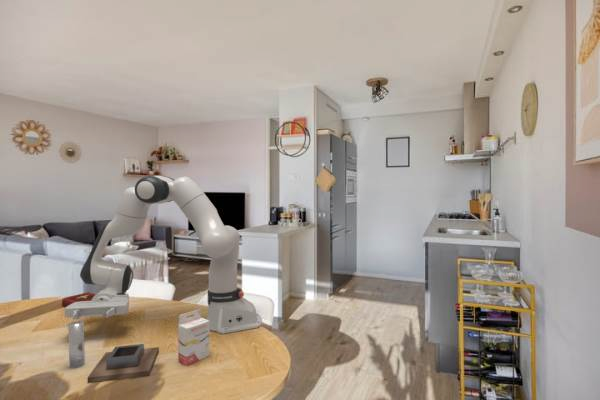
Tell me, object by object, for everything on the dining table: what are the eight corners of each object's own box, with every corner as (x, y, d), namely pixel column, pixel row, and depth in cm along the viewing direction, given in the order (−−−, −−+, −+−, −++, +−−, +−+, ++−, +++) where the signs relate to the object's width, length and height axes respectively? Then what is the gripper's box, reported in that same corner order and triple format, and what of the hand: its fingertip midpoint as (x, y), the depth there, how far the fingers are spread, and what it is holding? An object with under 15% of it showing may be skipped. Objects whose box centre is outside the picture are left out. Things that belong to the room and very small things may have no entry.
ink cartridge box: (186, 366, 103) (186, 319, 102) (177, 361, 106) (177, 315, 105) (210, 355, 109) (209, 311, 109) (201, 351, 112) (200, 307, 112)
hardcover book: (86, 315, 146) (86, 305, 146) (61, 307, 157) (61, 298, 157) (113, 307, 157) (113, 298, 156) (88, 299, 167) (88, 291, 167)
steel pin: (86, 361, 106) (86, 320, 106) (81, 367, 102) (80, 325, 102) (72, 362, 105) (71, 321, 105) (66, 369, 101) (65, 326, 101)
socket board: (158, 351, 112) (158, 347, 112) (148, 375, 98) (148, 370, 98) (106, 356, 109) (105, 352, 109) (87, 382, 94) (87, 377, 94)
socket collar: (144, 353, 108) (144, 343, 108) (137, 366, 100) (137, 356, 100) (115, 356, 106) (115, 346, 106) (106, 369, 98) (106, 359, 98)
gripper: (73, 296, 126) (55, 309, 113) (132, 293, 131) (122, 305, 117) (74, 312, 127) (56, 327, 113) (132, 309, 131) (122, 323, 118)
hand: (90, 316), depth 115 cm, fingers open, 8 cm apart
